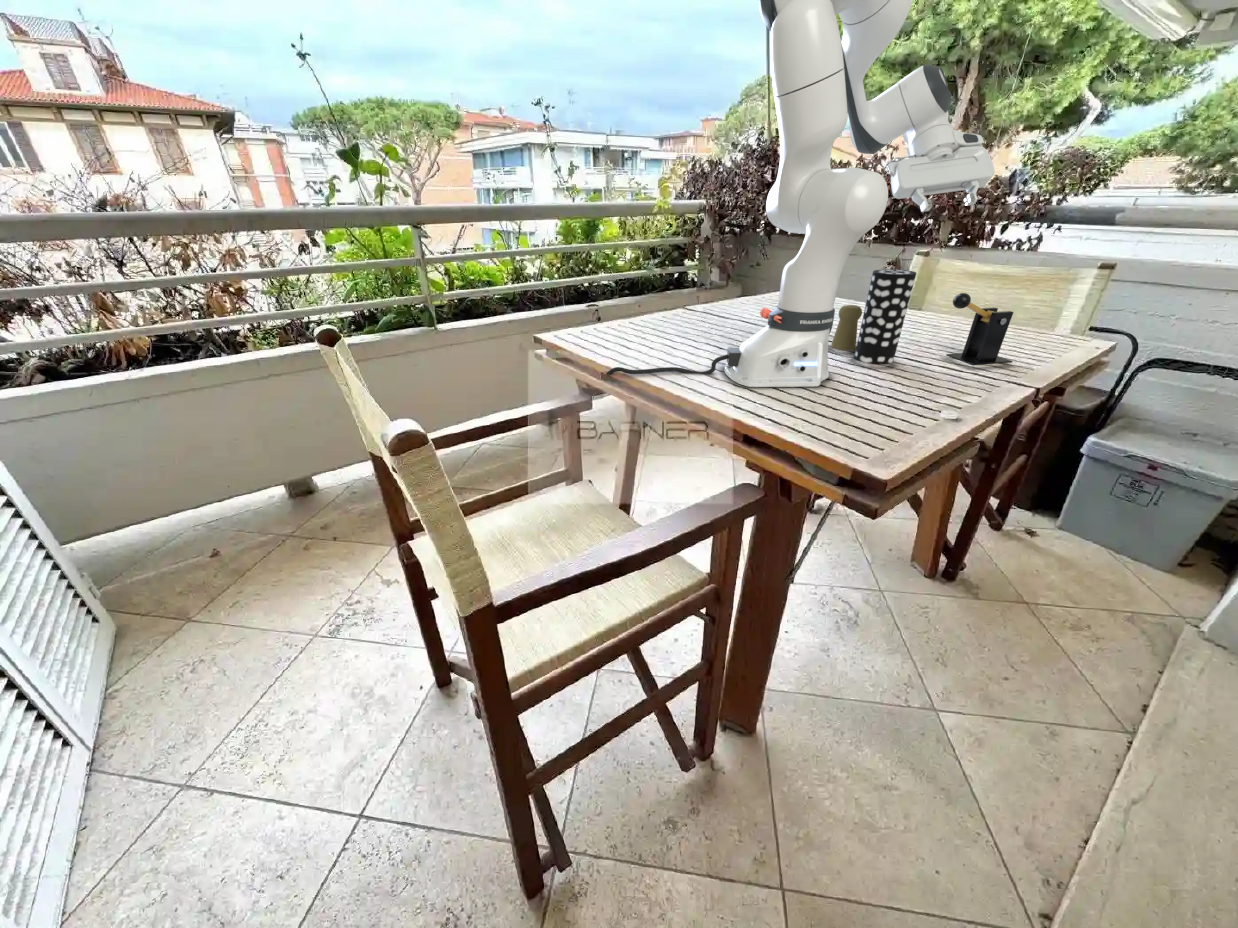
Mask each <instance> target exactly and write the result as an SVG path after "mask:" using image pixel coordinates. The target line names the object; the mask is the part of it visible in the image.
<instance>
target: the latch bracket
mask: <svg viewBox="0 0 1238 928" xmlns="http://www.w3.org/2000/svg"><path fill="white" fill-rule="evenodd" d="M980 308H981V309H983V310H985V311H986V312H987V311H988V310H990V311H994V312H992V314H991V316H990V319H989V322H988V324H986V323H984V322H983V321H981V319H982V316H981V315H979V314H977V313H976V312H975V313H974V314H975V315H974V317H973V320H972V323H971V326H970V329H969V331H968V335H967V337H966V338H967V339H966V342H965V345H964V347H963V350H962V352H957V353H955V352H954V353H946V354H945V356H947V357H949V358H952V359H954V360H957V361H960V362H961V363H965V364H968V365H970V366H985V365H995V364H996V365H997V364H1008V363H1010V364H1011V363H1013V360H1010V359H1008V358H1005V357H1002V356H999V353H1000V350H1001V348H1002V345H1003V342H1004V340H1005V337H1006V334H1007V332H1008V329H1009V326H1010V323H1011V321H1012V317H1013V315H1014V311H1012V310H1007V311H998V310H999V308H998V307H980Z"/></svg>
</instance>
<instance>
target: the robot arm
mask: <svg viewBox="0 0 1238 928" xmlns="http://www.w3.org/2000/svg"><path fill="white" fill-rule="evenodd" d="M912 3H913V0H758V9H759V12H760V13H759V14H760V16H761V19H762V21H763V23H764V26H766V28H767V29H768V31H769V32H770V69H771V70H770V72H771V81H772V83H771V84H772V91H773V98H774V105H775V112H776V120H777V121H776V122H777V126H778V135H779V149H780V150H779V163H778V170H777V176H776V179H775V182H774V183H773V185H772V187H770V189H769V192H768V194H767V198H766V202H765V212H766V216H767V219H768V221H769V222H770V224H771V225H773V226H774V227H776V228H778V229H780V230H783V231H785V232H787V233H791V234H800V235H801V234H802V235H804V239H803V242H802V244H801V246H800V249H799V251H798V253H796V255H795V257H794V258H792V259H790V260H789V261H788V262H787V263H786V264H785V265H784V267H783V268H782V272H781V278H780V279H781V280H780V286H779V293H778V294H779V295H778V301H777V305H776V306H775V308H774V309H772V310H771V309H769V308H767V307H762V308H761V310H759V316H760V317H761V318H763V319H766V320H767V324H765V326H763V327H762V328H760V330H758V331H756V333H754V334H753V335H751V336H750V337H749V338H747V339H745V340H744V341H743V342H741V344H740V345H739V347H727V351H726V354H724V355H721V356H718V357H716V358H714V359H713V360H712V362H711V367H710V369H708V370H704V371H695V370H692V369H687V368H683V367H678V366H677V367H676V366H667V367H655V368H644V369H631V368H626V367H621V366H620V367H619V366H616V367H615V366H614V367H613V368H610V369H609V370H608V371H607V373H606V375H607V376H611V375H612V374H614V373H617V372H620V373H624V374H627V375H645V374H654V373H655V374H656V373H668V372H669V373H670V372H673V373H674V372H676V373H682V374H691V375H692V374H693V375H711V374H713V373H714V372H715V371H716V368H717V367H716V366H717V364H718V363H719V362H721V361H725V360H726V364H725V366H724V370H723V371H724V374H725V375H726V376H727V377H728V378H729V379H730V380H731V381H733V382H734V383H736V384H739V385H741V386H745V387H749V388H786V387H787V388H789V387H790V388H792V387H793V388H796V387H797V388H799V387H804V388H805V387H807V388H808V387H810V388H811V387H819V386H820V385H821V383H822V382H823V381H825V380H826V379H828V378H829V376H830V373H829V363H828V362H829V360H828V356H829V354H828V353H829V342H830V341H829V340H830V334H831V332H832V329H833V325H834V321H835V320H834V319H835V313H836V309H835V308H834V307H835V301H836V297H837V292H838V287H839V283H840V279H841V274H842V273H843V268H844V266H845V264H846V261H847V259H848V257H849V255H850V254H851V252H852V250H853V249H854V247H855V246H856V244H857V243H858V242H859V241H860V240H861V238H862V237H863V236H864V235H865V234H867V233H868V232H869V231H870V230H872V229H873V228H874V227H875V226H876V225H877V224H878V223H879V222H880V220H881V219H882V217H883V215H884V213H885V211H886V209H887V206H888V201H889V188H888V184H887V181H886V178H885V177H884V176H883V175H882V174H881V173H879V172H877V171H873V170H869V169H865V168H861V167H844V168H843V167H841V168H832V167H831V156H832V152H833V151H832V150H833V146H834V143H835V141H836V140H837V138H839V137H840V136H841V134H842V133H843V132H844V130H845V128H846V126H847V123H848V119H849V123H848V124H849V135H850V140H851V143H852V145H853V147H854V149H855V150H856V151H857V152H858V153H860V154H863V155H875V154H876V153H878V152H879V151H880V150H882V149H883V148H885V147H886V146H888V145H889V144H890V143H891V142H893V141H894V140H896V139H897V138H899V137H901V136H902V138H903V140H904V142H905V143H906V145H907V155H906V156H903V157H902V156H901V157H899V156H898V157H894V158H893V159H892V160H891V161H889V162H888V164H887V170H888V171H887V172H888V174H889V176H890V188H891V194H892V196H893V198H895V199H897V200H901V199H902V200H903V199H908V198H909V199H910V198H911V200H912V202H913V203H915V204H916V205H917V206H919V209H920V212H921V213H923V212H929V211H930V210H931V209H932V208H933V202H932V199H931V198H927V197H926V196H930V195H938V194H944V193H953V192H960V191H965V193H966V194H967V195H966V197H965V198H964V199H963V202H964V206H967V207H968V206H974V205H975V204H976V203H977V201H978V196H977V192H978V189H981V188H984V187H985V186H986V185H987V184H988V183H989V182H990V180H991V179H992V178H993V177H994V175H995V166H994V163H993V160H992V157H991V155H990V153H989V151H988V150H987V148H985V147H983V146H982V144H983V142H984V138H983V136H982V135H981V134H977V133H969V132H965V131H964V132H963V131H961V130H957V129H954V126H953V125H952V124H951V123H950V121H949V117H950V116H949V108H950V106H951V103H952V99H953V98H952V94H951V92H950V89H949V86H948V82H947V78H946V75H945V73H944V70H943V69H942V67H940V66H938V65H933V64H923V65H921V66H919V67H918V68H915V69H914V70H913V71H912V72H910V73H909V74H907V75H906V76H904V77H903V78H901V79H900V80H898V81H897V82H896V83H894V84H893V85H892V86H890V87H889V88H887V89H886V90H884V91H882V92H881V93H879V94H878V95H877V96H876V97H874V98H872V99H870V100H869V99H868V100H867V97H866V91H865V85H864V79H865V77H866V74H867V72H868V71H869V70H870V68H871V66H872V65H873V64H874V62H875V61H876V60H877V59H878V58H879V56H880V55H881V54H882V53H883V51H884V50H885V49H886V48H887V47H888V46H889V45H890V44H891V43H892V42H893V40H894V39H895V38H896V37H897V35H898V34H899V33H900V31H901V29H902V27H903V26H904V24H905V22H906V20H907V18H908V15H909V13H910V10H911V7H912ZM836 15H838V17H839V19H840V21H841V23H842V28H843V29H842V30H843V31H842V38H841V33H840V28H839V24H838V20H837V19H838V18H837V16H836Z"/></svg>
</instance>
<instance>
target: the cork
mask: <svg viewBox="0 0 1238 928" xmlns="http://www.w3.org/2000/svg"><path fill="white" fill-rule="evenodd" d="M862 314H863V310H862V307H861V306H858V305H855V304H845V305H843V306H841V307H840V308H839V310H838V318H839V320H838V322H837V323H838V324H837V327H836V330H835V333H834V335H833V338H832V341H831V344H830V347H831V348H832V349H835V350H840V351H852V350H856V346H857V339H858V338H857V336H858V326H859V325H858V323H859V320H860V319H861V317H862V316H863V315H862Z"/></svg>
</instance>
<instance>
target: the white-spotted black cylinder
mask: <svg viewBox="0 0 1238 928" xmlns="http://www.w3.org/2000/svg"><path fill="white" fill-rule="evenodd" d="M916 276H917V272H916V271H913V270H907V269H905V270H904V269H894V268H893V269H890V268H889V269H887V268H886V269H884V268H883V269H875V270H873V271H872V274H871V279H870V283H869V287H868V293H867V296H866V297H867V298H866V302H865V305H864V306H865V307H864V312H863V315H862V320H861V325H860V327H859V328H860V329H859V333H858V338H857V341H856V348H855V351H854V355H853V358H854V360H856V361H857V362H860V363H864V364H868V365H891V364H892V363H894V360H895V356H896V352H897V350H898V344H899V341H900V338H901V333H902V330H903V326H904V324H905V323H904V322H905V319H906V315H907V310H908V308H909V304H910V303H909V302H910V300H911V296H912V292H913V288H914V284H915V281H916Z"/></svg>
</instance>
